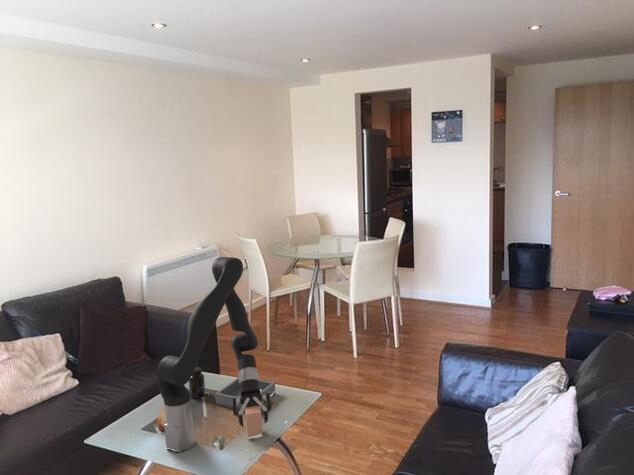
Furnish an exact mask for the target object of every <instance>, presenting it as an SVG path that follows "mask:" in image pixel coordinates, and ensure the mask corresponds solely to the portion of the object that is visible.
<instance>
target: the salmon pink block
mask: <svg viewBox="0 0 634 475" xmlns="http://www.w3.org/2000/svg"><path fill="white" fill-rule="evenodd" d="M244 414H245V417H244V418H245V427H246V428H245V429H246V431H247V432H246V435H247V436H248V437H251V436H255V435H258V434H262V433H263V419H262V418H263V417H262V410H261V409H260V406H259V405H258V406H253V407H245V411H244ZM263 434H264V433H263Z"/></svg>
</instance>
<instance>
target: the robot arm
mask: <svg viewBox="0 0 634 475" xmlns="http://www.w3.org/2000/svg"><path fill="white" fill-rule="evenodd" d="M211 270H212V276H213V278H214V280H215V283H216V285H215V286H214V287H213V289H211V290H210V291H209V292H208V293H207V294H206V295H205V296H203V297H202V299H201V300H199V301H198V303H196V306H195V308H194V309H193V311H192V313H191V314H190V317H189V318H188V321H187V340H186V344H185V347H184V350H183V352H182V353H181V355H180V357H179V356H175V355H166V356H165V357H163V358H162V359H161V360H160V361H159V364H158V367H157V379H158V385H159V392H160V395H161V397H162V398H163V404H164V406H163V408H165V418H166V424H165V425H164V429H165V431H164V436H165V437H164V438H165V446H166V447H167V448H170V449H174V450H177V451H181V450H184V451H186V450H185V449H187V450H189V449H190V448H192V447H193V446H194V445H195V433H194V423H193V411H192V410H193V409H192V401H191V400H192V399H191V397H190V391H189V388H187V387H186V386H185V385H186V384H187V383H188V381H189V379H190V378H191V376H192V374H193V372H194V369H195V367H197V363H198V361H199V359H200V356H201V353H202V351H203V349H204V346H205V344H206V342H207V340H208V338H209V336H210V334H211V332H212V330H213V329H214V326H215V325H216V322H217V320H218V318H219V317H220V314H221V312H222V310H223V308H224V306H225V308H226V312H227V314H228V319H229V323H230V326H231V329H232V331H234V332H242V333H240V334H236V335H233V336H232V337H231V339H230V346H231V349H232V351H233V354H234V355H235V358H236V361H237V363H236V364H237V368H238V369H237V370H238V377H239V386H240V395H241V397H240V399H236V398H233V409H232V414H233V416H234V417H238V423H239V426H241V428H243V427H244V417H243V414H245V407H253V406H258V405H259V406H260V409H261V412H263V414H262V415H263V421H264V424H267V423H268V421H269V414H268V412H270V411H272V407H273V406H272V401H271V398H270V396H269V394H268V393H267V394H266V395H261V393H260V386H259V380H260V379H259V373H258V370H257V362H256V356H254V355H253V354H248V353H247V354H246V353H243V352H249V351H253V350H256V348H257V347H258V344H259V341H258V338H257V335H256V334H255V333H254V331H253V330H254V329H252V327H251V324H250V322H249V319H248V314H247V310H246V307H245V304H244V303H243V301H242V299H241V298H240V297H239V295H238V293H237V291H236V290H235V287H236V286H237V285H238V282H239V281H240V279H241V277H242V275H243V272H244V263H243V261H242V259H240V258H238V257H229V256H220V257H216V258H215V259H214V260H213V262H212V265H211ZM262 398H263V399H264V400H265V401H266V405H267V407H266V406H265V405H264V404H262V403H261V400H262ZM239 402H240V403H241V404H242V405H243V406H242V407H241V409H240V410H236V405H238V403H239ZM188 448H189V449H188ZM181 452H182V451H181Z"/></svg>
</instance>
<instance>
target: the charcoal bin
mask: <svg viewBox="0 0 634 475" xmlns="http://www.w3.org/2000/svg"><path fill="white" fill-rule="evenodd" d="M259 386H260V389H262V391H261V392H260V393H261V395H266V394H267V393H268V394H269V396H270V395H271V394H272V393H273V392H274V391H275V392H276V383H275V382H272V381H268V380H261V379H259ZM214 395H215V396H214V397H215V399H214V400H215V405H216V406H221V407H224V408H228V409H232V410H233V398H236V399H240V397H241V395H240V386H239V376H238V377H237V378H235V379H234V380H232V381H231V382H229V383H228V384H226V385H225V386H224V387H222V388H221V389H220V390H218V391H217V392H215V394H214ZM264 401H265V400H264V399H263V398H262V400H261V403H262V402H264ZM242 406H243V405H242V404H241V403H240V402H239V403H238V405H236V410H237V411H240V409H241V407H242Z"/></svg>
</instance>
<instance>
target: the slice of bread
mask: <svg viewBox="0 0 634 475" xmlns="http://www.w3.org/2000/svg"><path fill="white" fill-rule="evenodd" d="M156 424H157V425H156V426H157V428H158V427H159V428H160V429H159V428H158V429H159V430H161V429H162V430H164V431H163V432H165V429H164V425H165V424H166V418H165V408H164V407H163V408H162V410H161V412H160V413H159V414H158V419H157V423H156ZM162 430H161V431H162Z"/></svg>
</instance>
